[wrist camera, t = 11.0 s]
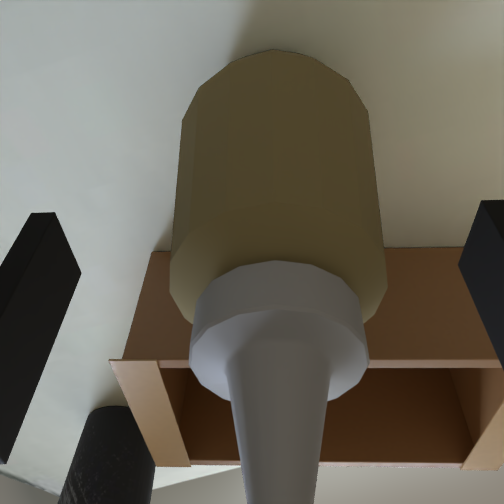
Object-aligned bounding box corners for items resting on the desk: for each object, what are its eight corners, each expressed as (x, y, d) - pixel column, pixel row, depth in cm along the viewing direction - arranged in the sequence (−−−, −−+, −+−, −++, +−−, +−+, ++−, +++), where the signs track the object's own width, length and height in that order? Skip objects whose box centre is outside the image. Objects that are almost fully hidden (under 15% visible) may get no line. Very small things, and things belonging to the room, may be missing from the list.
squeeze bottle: (368, 15, 19) (581, 430, 6) (351, 177, 25) (445, 580, 12) (177, 26, 20) (-9, 431, 7) (203, 183, 25) (129, 574, 12)
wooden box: (141, 250, 29) (108, 360, 23) (515, 245, 28) (582, 360, 22) (174, 365, 37) (156, 466, 32) (460, 364, 36) (497, 470, 30)
